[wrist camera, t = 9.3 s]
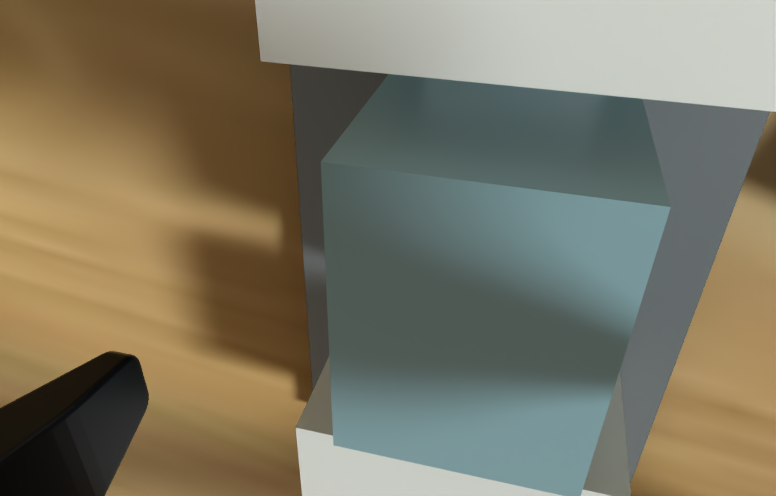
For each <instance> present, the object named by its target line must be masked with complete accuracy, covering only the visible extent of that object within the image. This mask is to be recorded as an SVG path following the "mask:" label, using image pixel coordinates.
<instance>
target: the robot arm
mask: <svg viewBox="0 0 776 496" xmlns="http://www.w3.org/2000/svg"><path fill="white" fill-rule="evenodd" d="M148 400H149V394H148V390H147V386H146V383H145V379H144V376H143V372H142V368H141V365H140V362H139V360H138V359H137V357H136V356H134V355H130V354H125V353H121V352H115V351H109V352H106V353H104V354H101V355H100V356H98V357H96V358H94V359H92V360H90V361H88V362H86V363H84V364H83V365H81V366H79V367H77V368H75V369H73V370H71V371H69V372H67V373H66V374H64V375H62V376H60V377H58V378H56V379H54V380H52V381H50V382H49V383H47V384H45V385H43V386H41V387H39V388H37V389H35V390H33V391H32V392H30V393H28V394H26V395H24V396H22V397H20V398H18V399H16V400H15V401H13V402H11V403H9V404H7V405H5V406H3V407H1V408H0V496H105V494H106V492H107V490H108V488H109V486H110V484H111V482H112V480H113V478H114V476H115V474H116V471H117V469H118V467H119V465H120V463H121V461H122V459H123V457H124V455H125V453H126V451H127V449H128V447H129V445H130V442H131V440H132V438H133V436H134V434H135V432H136V430H137V428H138V426H139V424H140V422H141V420H142V418H143V416H144V413H145V411H146V409H147V405H148Z"/></svg>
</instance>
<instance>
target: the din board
mask: <svg viewBox="0 0 776 496" xmlns="http://www.w3.org/2000/svg"><path fill="white" fill-rule="evenodd" d="M255 6H256V17H257V27H258V38H259V48H260V59H261V61H262V62H273V63H283V64H290V73H291V87H292V102H293V116H294V131H295V145H296V159H297V174H298V188H299V203H300V217H301V231H302V246H303V260H304V275H305V289H306V303H307V318H308V332H309V347H310V361H311V376H312V390H313V392H312V394H311V396H310V398H309V400H308V402H307V404H306V407H305V409H304V411H303V413H302V415H301V417H300V419H299V422H298V424H297V426H296V437H297V447H298V458H299V468H300V479H301V489H302V496H562V495H558V494H553V493H549V492H544V491H540V490H535V489H530V488H526V487H521V486H517V485H512V484H508V483H503V482H498V481H494V480H489V479H485V478H480V477H476V476H471V475H467V474H462V473H457V472H453V471H448V470H444V469H439V468H435V467H430V466H425V465H421V464H416V463H412V462H407V461H403V460H398V459H394V458H389V457H384V456H380V455H375V454H371V453H366V452H362V451H357V450H352V449H348V448H343V447H339V446H334V445H333V425H332V402H331V380H330V358H329V336H328V314H327V291H326V269H325V247H324V225H323V202H322V180H321V161H322V160H323V158H324V157H325V156H326V154H327V153H328V152H329V150H330V149H331V148H332V147H333V145H334V144H335V143H336V141H337V140H338V139H339V138H340V136H341V135H342V134H343V132H344V131H345V130H346V129H347V127H348V126H349V125H350V123H351V122H352V121H353V119H354V118H355V117H356V116H357V114H358V113H359V112H360V110H361V109H362V108H363V107H364V105H365V104H366V103H367V101H368V100H369V99H370V98H371V96H372V95H373V94H374V92H375V91H376V90H377V88H378V87H379V86H380V85H381V83H382V82H383V81H384V79H385V78H386V77H387V76H388V74H395V75H405V76H415V77H426V78H436V79H446V80H456V81H466V82H477V83H487V84H497V85H507V86H517V87H528V88H538V89H548V90H558V91H568V92H579V93H589V94H599V95H609V96H619V97H629V98H640V99H643V103H644V107H645V111H646V114H647V118H648V122H649V126H650V130H651V134H652V137H653V141H654V145H655V149H656V153H657V156H658V160H659V164H660V168H661V172H662V175H663V179H664V183H665V187H666V191H667V194H668V198H669V202H670V206H671V208H670V211H669V215H668V218H667V221H666V224H665V227H664V231H663V234H662V237H661V240H660V243H659V247H658V250H657V253H656V256H655V259H654V263H653V266H652V269H651V272H650V275H649V279H648V282H647V285H646V288H645V292H644V295H643V298H642V301H641V304H640V308H639V311H638V314H637V317H636V320H635V324H634V327H633V330H632V333H631V336H630V340H629V343H628V346H627V349H626V352H625V356H624V359H623V362H622V365H621V368H620V372H619V375H618V378H617V381H616V384H615V388H614V391H613V394H612V397H611V400H610V404H609V407H608V410H607V413H606V416H605V420H604V423H603V426H602V429H601V432H600V436H599V439H598V442H597V445H596V448H595V452H594V455H593V458H592V461H591V464H590V468H589V471H588V474H587V477H586V480H585V484H584V487H583V490H582V493H581V496H631V491H630V483H631V480H632V477H633V475H634V472H635V469H636V467H637V464H638V461H639V459H640V456H641V453H642V451H643V448H644V445H645V443H646V440H647V437H648V435H649V432H650V429H651V427H652V424H653V421H654V419H655V416H656V413H657V411H658V408H659V405H660V403H661V400H662V398H663V395H664V392H665V390H666V387H667V384H668V382H669V379H670V376H671V374H672V371H673V368H674V366H675V363H676V360H677V358H678V355H679V352H680V350H681V347H682V344H683V342H684V339H685V336H686V334H687V331H688V328H689V326H690V323H691V320H692V318H693V315H694V312H695V310H696V307H697V304H698V302H699V299H700V296H701V294H702V291H703V288H704V286H705V283H706V280H707V278H708V275H709V273H710V270H711V267H712V265H713V262H714V259H715V257H716V254H717V251H718V249H719V246H720V243H721V241H722V238H723V235H724V233H725V230H726V227H727V225H728V222H729V219H730V217H731V214H732V211H733V209H734V206H735V203H736V201H737V198H738V195H739V193H740V190H741V187H742V185H743V182H744V179H745V177H746V174H747V171H748V169H749V166H750V163H751V161H752V158H753V156H754V153H755V150H756V148H757V145H758V142H759V140H760V137H761V134H762V132H763V129H764V126H765V124H766V121H767V118H768V116H769V113H770V111H772V112H776V0H255Z"/></svg>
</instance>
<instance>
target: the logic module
mask: <svg viewBox="0 0 776 496" xmlns="http://www.w3.org/2000/svg"><path fill="white" fill-rule="evenodd" d="M321 180H322V202H323V225H324V247H325V269H326V291H327V314H328V336H329V358H330V380H331V402H332V425H333V445H334V446H339V447H343V448H348V449H352V450H357V451H362V452H366V453H371V454H375V455H380V456H384V457H389V458H394V459H398V460H403V461H407V462H412V463H416V464H421V465H425V466H430V467H435V468H439V469H444V470H448V471H453V472H457V473H462V474H467V475H471V476H476V477H480V478H485V479H489V480H494V481H498V482H503V483H508V484H512V485H517V486H521V487H526V488H530V489H535V490H540V491H544V492H549V493H553V494H558V495H562V496H581V493H582V490H583V487H584V484H585V480H586V477H587V474H588V471H589V468H590V464H591V461H592V458H593V455H594V452H595V448H596V445H597V442H598V439H599V436H600V432H601V429H602V426H603V423H604V420H605V416H606V413H607V410H608V407H609V404H610V400H611V397H612V394H613V391H614V388H615V384H616V381H617V378H618V375H619V372H620V368H621V365H622V362H623V359H624V356H625V352H626V349H627V346H628V343H629V340H630V336H631V333H632V330H633V327H634V324H635V320H636V317H637V314H638V311H639V308H640V304H641V301H642V298H643V295H644V292H645V288H646V285H647V282H648V279H649V275H650V272H651V269H652V266H653V263H654V259H655V256H656V253H657V250H658V247H659V243H660V240H661V237H662V234H663V231H664V227H665V224H666V221H667V218H668V215H669V211H670V208H671V206H670V202H669V198H668V194H667V191H666V187H665V183H664V179H663V175H662V172H661V168H660V164H659V160H658V156H657V153H656V149H655V145H654V141H653V137H652V134H651V130H650V126H649V122H648V118H647V114H646V111H645V107H644V103H643V99H640V98H629V97H619V96H609V95H599V94H589V93H579V92H568V91H558V90H548V89H538V88H528V87H517V86H507V85H497V84H487V83H477V82H466V81H456V80H446V79H436V78H426V77H415V76H405V75H395V74H388V76H387V77H386V78H385V79H384V81H383V82H382V83H381V85H380V86H379V87H378V88H377V90H376V91H375V92H374V94H373V95H372V96H371V98H370V99H369V100H368V101H367V103H366V104H365V105H364V107H363V108H362V109H361V110H360V112H359V113H358V114H357V116H356V117H355V118H354V119H353V121H352V122H351V123H350V125H349V126H348V127H347V129H346V130H345V131H344V132H343V134H342V135H341V136H340V138H339V139H338V140H337V141H336V143H335V144H334V145H333V147H332V148H331V149H330V150H329V152H328V153H327V154H326V156H325V157H324V158H323V160H322V161H321Z"/></svg>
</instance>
